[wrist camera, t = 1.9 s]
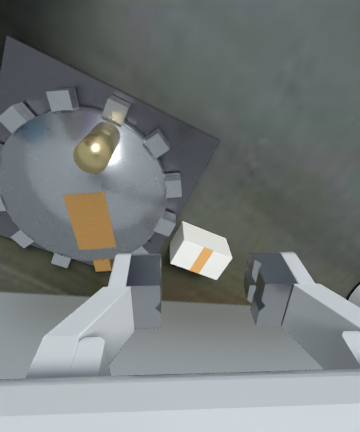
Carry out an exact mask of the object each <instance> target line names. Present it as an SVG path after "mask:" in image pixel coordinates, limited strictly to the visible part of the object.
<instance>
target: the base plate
mask: <svg viewBox="0 0 360 432" xmlns="http://www.w3.org/2000/svg"><path fill="white" fill-rule="evenodd" d="M74 87H75V90H76V94H77V99H78V103H79V106H82V107H90V108H95V109H99V110H103V111H104V108H105V105H106V102H107V99H108V98H109V97H110V96H111V95H113V96H115V97H117V98H119V99H121V100H123V101H125V102H127V103H129V104H131V105H130V108H129V111H128V113H127V116H126V118H125V121H127V122H128V123H129V124H131V125H132V126H134V127H135V128H136V129H137V130H138V131H139V132H141V133H142V134H143V135H144V136H145V137H146V136H147V135H149V134H150V133H152V132H153V131H154V130H156V129H157V128H159V129H160V131H161V132H162V134H163V135H164V136H165V138H166V139H167V141H168V142H169V147H170V150H168V151H167V152H165V153H164V154H162V155H161V156H159V159H160V161H161V163H162V166H163V169H164V172H165V174H167V173H180V177H181V189H182V197H174V198H166V207H165V210H166V211H168V212H171V213H173V214H175V215H176V220H177V218H178V216H179V215H180V213H181V211H182V209H183V207H184V206H185V204H186V202H187V200H188V198H189V197H190V195H191V193H192V191H193V189H194V188H195V186H196V184H197V182H198V180H199V179H200V177H201V175H202V173H203V171H204V170H205V168H206V166H207V164H208V162H209V161H210V159H211V157H212V155H213V153H214V152H215V150H216V148H217V146H218V144H219V143H220V141H219V139H217V138H215V137H213V136H211V135H209V134H207V133H205V132H203V131H201V130H199V129H197V128H195V127H193V126H191V125H189V124H187V123H185V122H183V121H181V120H179V119H177V118H175V117H173V116H171V115H169V114H167V113H165V112H163V111H161V110H159V109H157V108H155V107H153V106H151V105H149V104H148V103H146V102H144V101H142V100H140V99H138V98H136V97H134V96H132V95H130V94H128V93H126V92H124V91H122V90H120V89H118V88H116V87H114V86H112V85H110V84H108V83H106V82H104V81H102V80H100V79H98V78H96V77H94V76H92V75H90V74H88V73H86V72H84V71H82V70H80V69H78V68H76V67H74V66H72V65H70V64H68V63H66V62H64V61H62V60H60V59H58V58H56V57H54V56H52V55H50V54H48V53H46V52H44V51H42V50H40V49H38V48H36V47H34V46H32V45H30V44H28V43H26V42H24V41H22V40H20V39H18V38H16V37H14V36H9V35H7V36H6V42H5V48H4V53H3V59H2V65H1V71H0V115H1V114H2V113H4V112H5V111H6V110H7V109H8V108H9V107H11V106H12V105H14V104H17V103H20V102H23V103H24V104H25V105H26V107H27V108H28V109H29V110H30V111H31V112H32V113H33V114H34V115H35V116H38V115H40V114H43V113H45V112H47V111H50V110H51V108H50V105H49V101H48V97H47V94H46V92H47V91H50V90H53V89H61V88H74ZM11 134H12V133H11V132H10V131H9V130H8V129H7V128H6V127H5V126H4V125H3V124H2V123H1V122H0V144H3V145H4V144H5V143H6V141H7V140H8V138H9V137H10V136H11ZM17 228H18V226H17V225H16V224H15V223H14V222H13V220H12V219H11V217H10V216H9V214H8V213H7V211H0V235H1V236H4V237H7V238H10V239H12V238H11V236H12V234H13V233H14V232H15V231H16V230H17ZM166 238H167V236H165V235H163V234H160V233H157V232H155V233H154V234H153V235H152V237H151V238H150V239H149V240H148V242H149V243H150V244H151V253H150V254H158V252H159V250H160V249H161V247H162V245H163V243H164V241H165V240H166ZM30 245H31V246H34V247H38V248H41V249H44V250H47V251H50V250H48V249H45V248H44V247H42V246H40V245H39V244H37V243H36V242H33V243H31V244H30ZM50 252H52V251H50ZM53 253H54V252H53ZM114 259H115V258H114ZM74 260H77V259H74ZM77 261H80V262H83V263H86V264H89V265H92V266H94V263H93V261H85V260H77ZM111 271H112V270H111Z"/></svg>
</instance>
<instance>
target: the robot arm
mask: <svg viewBox="0 0 360 432" xmlns="http://www.w3.org/2000/svg"><path fill="white" fill-rule="evenodd" d="M247 264H248V267H249V269H248V270H247V271H246V272H245V278H244V289H245V294H246V297H247V300H248V301H250V302H251V303H252V305H251V313H252V316H253V318H254V321H255V324H256V326H282V328H283V329H284V330H285V331H286V332H287V333H288V334H289V335H290V336H291V337H292V338H293V339H294V340H295V341H296V342H297V343H298V344H299V345H300V346H301V347H302V348H303V349H304V350H305V351H307V353H309V354H310V355H311V356H312V357H313V358H314V359H315V360H316V361H317V362H318V363H319V364H320V365H321V366H322V367H323V368H324V369H325V370H300V371H299V370H297V371H263V372H230V373H197V374H165V375H164V374H163V375H129V376H111V374H110V368H109V364H110V363H111V362H112V361H113V359H114V358H115V357H116V355H117V354H118V352H119V351H120V350H121V348H122V347H123V346H124V344H125V343H126V342H127V340H128V339H129V338H130V336H131V335H132V333H133V332H134V329H149V328H161V254H117V255H116V256H115V259H114V263H113V267H112V271H111V275H110V279H109V283H108V287H102V288H101V289H100V290H99V291H98V292H96V293H95V294H94V295H93V296H92V297H90V298H89V299H88V300H87V301H86V302H85V303H83V304H82V305H81V306H80V307H79V308H77V309H76V310H75V311H74V312H73V313H71V314H70V315H69V316H68V317H67V318H65V319H64V320H63V321H62V322H61V323H59V324H58V325H57V326H56V327H55V328H53V329H52V330H51V331H50V332H49V333H47V334H46V335H45V336H44V337H43V339H42V341H41V344H40V346H39V348H38V350H37V353H36V355H35V357H34V360H33V362H32V364H31V367H30V369H29V371H28V373H27V376H26V378H25V379H0V432H360V285H359V286H358V287H357V288H356V289H355V290H354V291H353V293H352V294H351V296H350V297H349V299H348V300H346V299H344V298H343V297H341V296H339V295H338V294H336V293H334V292H333V291H331V290H329V289H328V288H326V287H324V286H323V285H321V284H315V283H314V281H313V280H312V278H311V277H310V275H309V273H308V272H307V270H306V269H305V267H304V266H303V264H302V263H301V261H300V260H299V258H298V257H297V255H296V254H295V253H294V252H278V253H250V254H249V256H248V260H247Z"/></svg>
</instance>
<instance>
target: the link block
mask: <svg viewBox="0 0 360 432" xmlns="http://www.w3.org/2000/svg"><path fill="white" fill-rule="evenodd" d="M231 259H232V256H231V253H230V250H229V247H228V244H227V241H226V238H223V237H221V236H218V235H216V234H213V233H211V232H208V231H206V230H203V229H201V228H198V227H196V226H193V225H191V224H188V223H186V222H183V221H182V223H181V224H180V226H179V228H178V230H177V231H176V233H175V235H174V237H173V238H172V240H171V242H170V264H173V265H176V266H179V267H182V268H184V269H187V270H190V271H192V272H195V273H198V274H201V275H204V276H207V277H210V278H213V279H215V280H217V279H218V277H219V276H220V275H221V273H222V272H223V270H224V269H225V268H226V266H227V265H228V263H229V262H230V261H231Z"/></svg>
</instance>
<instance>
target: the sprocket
mask: <svg viewBox="0 0 360 432" xmlns="http://www.w3.org/2000/svg"><path fill="white" fill-rule="evenodd" d="M46 94H47V97H48V101H49V105H50V108H51V110H50V111H47V112H45V113H43V114H40V115H38V116H35V115H34V114H33V113H32V112H31V111H30V110H29V109H28V108H27V107H26V105H25V104H24V103H23V102H20V103H17V104H14V105H12V106H11V107H9V108H8V109H7V110H6V111H5V112H4V113H2V114H1V115H0V122H1V123H2V124H3V125H4V126H5V127H6V128H7V129H8V130H9V131H10V132H11V133H12V134H11V136H10V137H9V138H8V140H7V141H6V143H5V144H4V145H3V144H0V211H7V213H8V214H9V216H10V217H11V219H12V220H13V222H14V223H15V224H16V225H17V226H18V228H17V230H16V231H15V232H14V233H13V234H12V236H11V238H12V239H13V240H14V241H16V242H17V243H18V244H19V245H20V246H22V247H23V248H25V247H27V246H28V245H30V244H31V243H33V242H36V243H37V244H39V245H40V246H42V247H44V248H45V249H48V250H50V251H52V252H54V256H53V259H52V262H51V263H52V264H55V265H58V266H62V267H65V268H68V265H69V263H70V261H71V259H77V260H85V261H93V263H94V266H95V270H96V272H98V271H111V270H112V267H113V263H114V258H115V256H116V255H117V254H150V253H151V244H150V243H149V242H148V240H149V239H150V238H151V237H152V235H153V234H154V233H155V232H157V233H160V234H163V235H165V236H168V237H169V235H170V234H171V232H172V230H173V228H174V227H175V225H176V215H175V214H173V213H171V212H168V211H166V210H165V207H166V198H174V197H182V189H181V177H180V173H167V174H165V172H164V169H163V166H162V163H161V161H160V159H159V156H161V155H162V154H164V153H165V152H167V151H168V150H170V147H169V142H168V141H167V139H166V138H165V136H164V135H163V134H162V132H161V131H160V129H159V128H157V129H156V130H154V131H153V132H152V133H150V134H149V135H147V136H146V137H145V136H144V135H143V134H142V133H141V132H139V131H138V130H137V129H136V128H135V127H134V126H132V125H131V124H129V123H128V122H127V121H125V118H126V116H127V113H128V111H129V108H130V105H131V104H129V103H127V102H125V101H123V100H121V99H119V98H117V97H115V96H113V95H111V96H110V97H109V98H108V99H107V102H106V105H105V108H104V111H103V110H99V109H95V108H90V107H82V106H79V103H78V99H77V94H76V90H75V87H74V88H61V89H53V90H50V91H47V92H46Z"/></svg>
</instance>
